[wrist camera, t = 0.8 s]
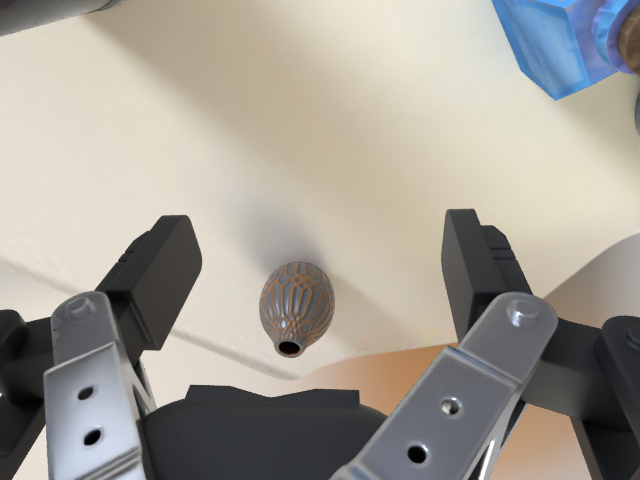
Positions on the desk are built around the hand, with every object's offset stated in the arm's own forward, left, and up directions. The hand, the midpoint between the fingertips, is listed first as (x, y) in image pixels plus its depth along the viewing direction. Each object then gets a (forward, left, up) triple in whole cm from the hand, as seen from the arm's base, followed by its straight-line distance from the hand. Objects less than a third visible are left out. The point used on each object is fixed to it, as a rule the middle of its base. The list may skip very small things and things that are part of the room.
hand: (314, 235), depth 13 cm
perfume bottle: (+1, +13, -20) cm, 24 cm away
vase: (+16, -12, -20) cm, 28 cm away
